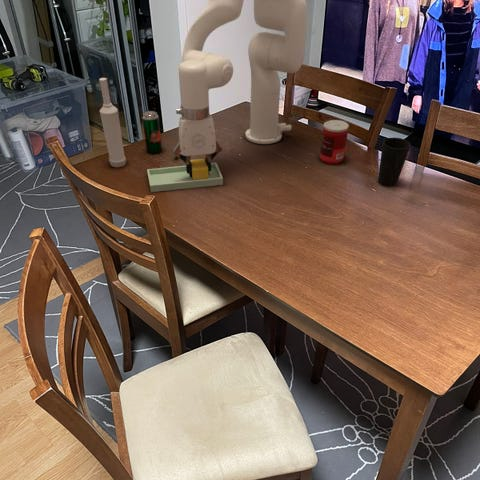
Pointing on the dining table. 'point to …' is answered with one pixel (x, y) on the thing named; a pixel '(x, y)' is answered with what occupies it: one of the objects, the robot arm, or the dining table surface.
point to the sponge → (199, 169)
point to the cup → (392, 160)
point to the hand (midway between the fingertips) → (199, 173)
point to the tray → (180, 178)
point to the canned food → (333, 141)
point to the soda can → (152, 132)
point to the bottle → (111, 128)
